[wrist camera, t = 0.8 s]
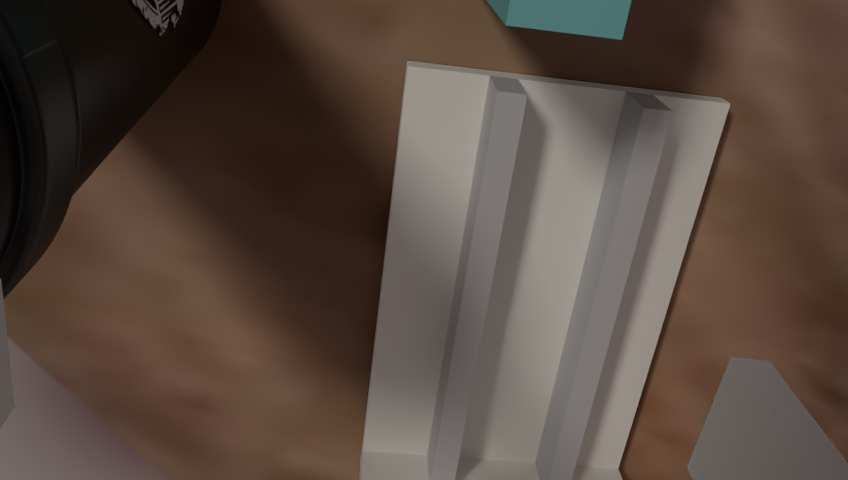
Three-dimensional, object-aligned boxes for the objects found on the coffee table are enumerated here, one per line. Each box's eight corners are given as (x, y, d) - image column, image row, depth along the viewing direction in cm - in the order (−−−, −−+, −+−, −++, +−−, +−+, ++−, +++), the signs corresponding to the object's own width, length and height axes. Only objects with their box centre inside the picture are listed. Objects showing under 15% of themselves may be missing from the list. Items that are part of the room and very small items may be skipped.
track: (407, 60, 32) (413, 123, 24) (721, 97, 33) (827, 169, 25) (360, 459, 42) (353, 600, 34) (607, 476, 43) (658, 616, 35)
